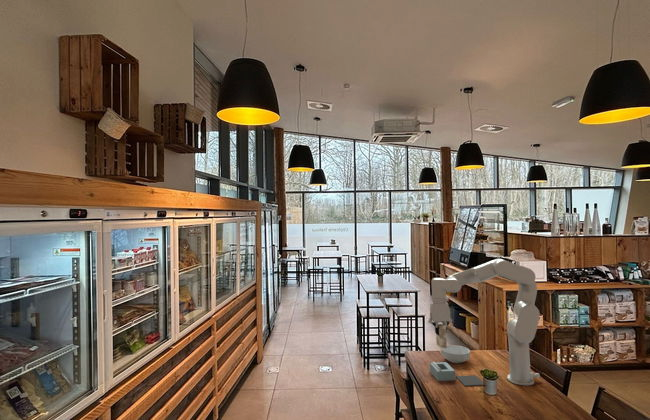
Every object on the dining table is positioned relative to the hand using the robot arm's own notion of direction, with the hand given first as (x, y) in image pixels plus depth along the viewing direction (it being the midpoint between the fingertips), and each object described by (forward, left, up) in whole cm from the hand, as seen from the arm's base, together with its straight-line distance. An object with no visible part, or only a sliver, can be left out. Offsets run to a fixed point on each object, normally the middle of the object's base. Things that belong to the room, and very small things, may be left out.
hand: (440, 333), depth 194 cm
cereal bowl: (-16, -20, -23) cm, 34 cm away
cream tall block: (0, 0, -7) cm, 7 cm away
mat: (-12, +8, -23) cm, 27 cm away
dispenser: (0, 0, -23) cm, 23 cm away
